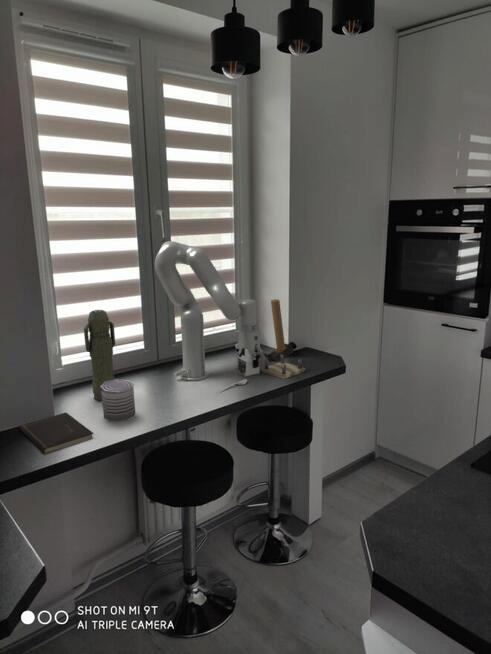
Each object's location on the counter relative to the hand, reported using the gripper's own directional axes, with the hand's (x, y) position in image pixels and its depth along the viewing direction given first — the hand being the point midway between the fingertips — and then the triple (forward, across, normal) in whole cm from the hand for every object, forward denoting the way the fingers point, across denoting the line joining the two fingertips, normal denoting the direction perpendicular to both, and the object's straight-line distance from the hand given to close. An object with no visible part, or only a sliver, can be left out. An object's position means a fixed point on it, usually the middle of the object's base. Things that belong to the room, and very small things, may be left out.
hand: (248, 365), depth 220 cm
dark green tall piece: (+4, +20, +60) cm, 63 cm away
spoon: (+4, -8, +19) cm, 21 cm away
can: (+4, 0, +65) cm, 65 cm away
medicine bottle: (+4, 0, 0) cm, 4 cm away
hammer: (+4, +6, -28) cm, 29 cm away
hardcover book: (+4, +2, +88) cm, 88 cm away
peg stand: (+4, -10, -12) cm, 16 cm away
